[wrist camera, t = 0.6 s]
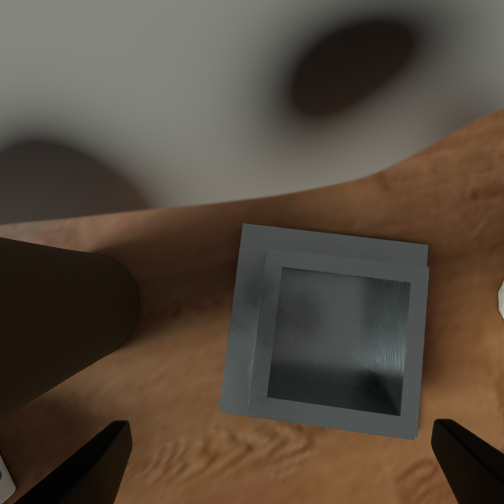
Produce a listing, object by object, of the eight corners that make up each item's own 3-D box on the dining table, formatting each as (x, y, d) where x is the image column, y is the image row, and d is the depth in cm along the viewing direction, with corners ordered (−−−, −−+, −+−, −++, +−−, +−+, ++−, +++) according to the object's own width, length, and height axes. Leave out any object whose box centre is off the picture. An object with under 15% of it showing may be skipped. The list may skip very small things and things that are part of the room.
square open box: (407, 432, 22) (450, 479, 17) (220, 405, 23) (209, 443, 18) (421, 246, 23) (465, 238, 18) (243, 225, 24) (239, 212, 19)
